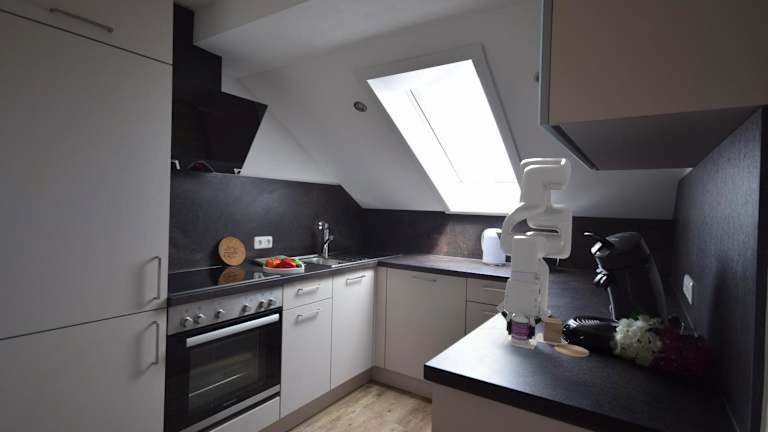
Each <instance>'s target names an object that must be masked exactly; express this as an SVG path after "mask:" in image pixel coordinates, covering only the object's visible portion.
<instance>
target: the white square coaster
mask: <svg viewBox="0 0 768 432" xmlns="http://www.w3.org/2000/svg"><path fill="white" fill-rule="evenodd" d="M510 336H511V335H508V334H507V336H505V338H504V339H503V340H502V342H501V344H504V345H510V346H516V347H521V348H525V349H528V350H534V349H535V347H536V345H537V343H539V342H538V341H534V340H535V338H534V339H533V338H532V339H529V343H528V344H518V343H515V342H513V341H512V340H511V339H509V338H508V337H510Z"/></svg>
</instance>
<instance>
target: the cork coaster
mask: <svg viewBox="0 0 768 432" xmlns="http://www.w3.org/2000/svg"><path fill="white" fill-rule="evenodd" d="M553 348H554V350H555V351H556V352H557V353H560V354H562V355H565V356H569V357H575V358H585V357H588V356H590V351H589V350H587V349H586V348H584V347H581V346H578V345H573V344H568V343H567V344H558V345H554V347H553Z"/></svg>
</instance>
